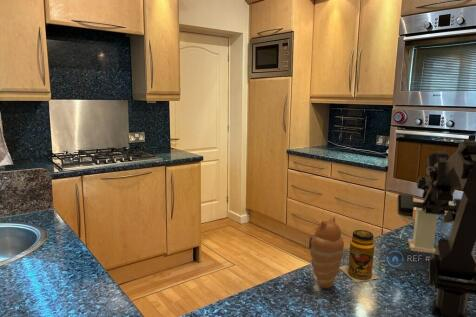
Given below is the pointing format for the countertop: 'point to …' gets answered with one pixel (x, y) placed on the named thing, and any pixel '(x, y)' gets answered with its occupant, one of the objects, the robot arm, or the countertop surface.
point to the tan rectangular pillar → (424, 230)
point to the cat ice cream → (327, 252)
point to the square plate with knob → (420, 248)
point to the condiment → (360, 257)
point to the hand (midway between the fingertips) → (426, 220)
